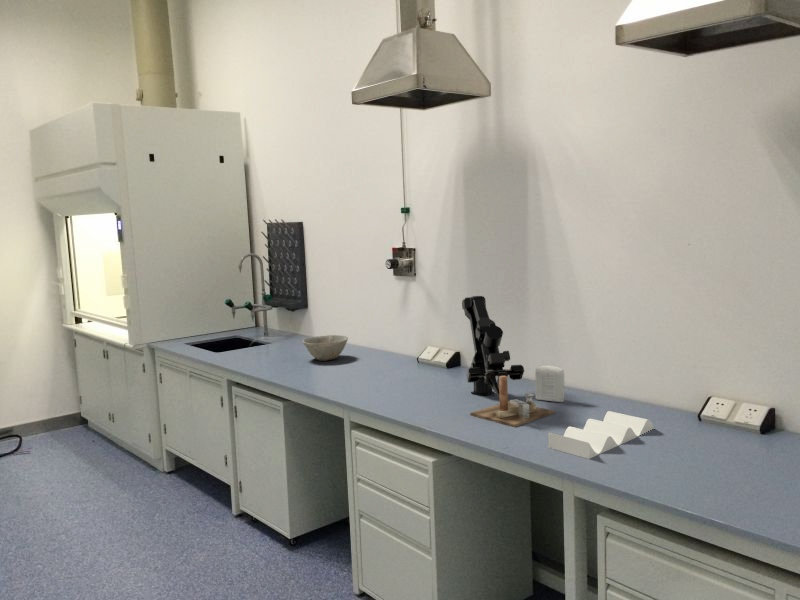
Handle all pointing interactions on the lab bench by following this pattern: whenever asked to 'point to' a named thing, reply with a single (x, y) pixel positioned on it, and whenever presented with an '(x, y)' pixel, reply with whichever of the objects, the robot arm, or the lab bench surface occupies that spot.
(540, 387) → the white arched upright block
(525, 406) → the pintle and keeper
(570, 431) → the white wavy rack
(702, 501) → the lab bench surface
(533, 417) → the walnut board
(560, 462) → the lab bench surface
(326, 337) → the ceramic bowl
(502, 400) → the ash crank
